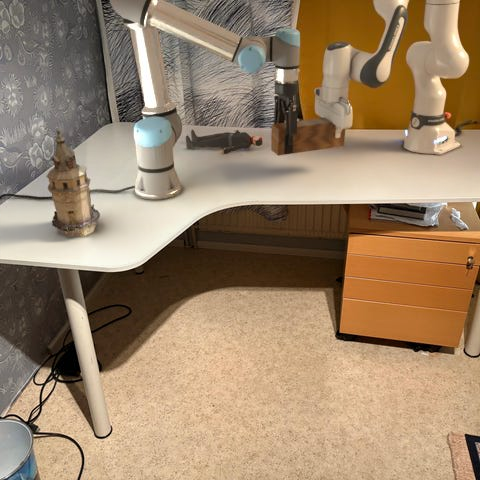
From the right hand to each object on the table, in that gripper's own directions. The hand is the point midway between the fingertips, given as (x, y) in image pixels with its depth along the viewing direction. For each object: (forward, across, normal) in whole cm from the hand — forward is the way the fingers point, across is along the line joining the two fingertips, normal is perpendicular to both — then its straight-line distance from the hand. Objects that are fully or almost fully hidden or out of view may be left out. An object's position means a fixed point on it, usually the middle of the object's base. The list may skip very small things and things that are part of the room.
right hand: (331, 134), depth 185 cm
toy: (+13, +37, +27) cm, 47 cm away
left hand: (+3, 0, +18) cm, 18 cm away
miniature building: (+13, -12, +89) cm, 91 cm away
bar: (+4, 0, +9) cm, 10 cm away
